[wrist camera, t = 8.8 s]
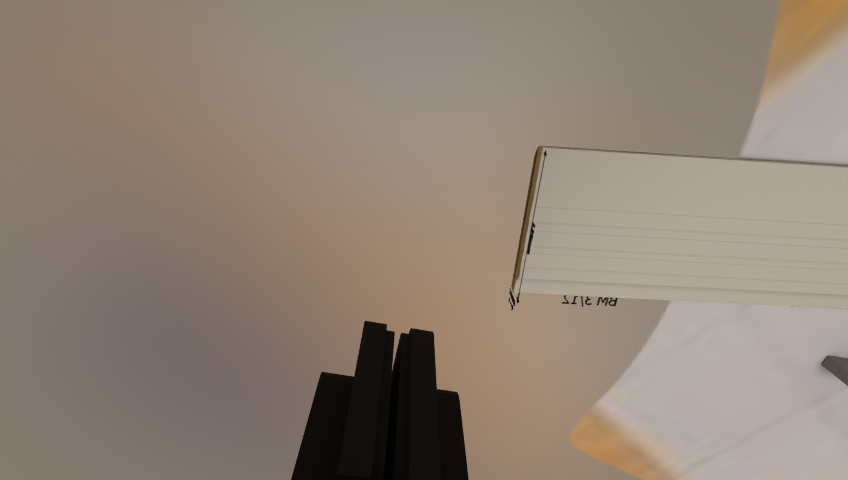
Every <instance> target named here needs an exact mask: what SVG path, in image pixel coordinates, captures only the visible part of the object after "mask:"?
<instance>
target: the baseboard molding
mask: <svg viewBox="0 0 848 480" xmlns="http://www.w3.org/2000/svg"><path fill="white" fill-rule="evenodd" d="M511 287H512V290H513V292H514V293H519V294H520V293H533V294H554V295H564V299H565V300H566V301H567V302H562V304H569V302H568V300H567V299H566V296H567V295H569V296H571V295H574V300H573V303H571V304H577V303H575V300H576V297H578V296H581V303H582V307H583V296H587V297H586V298H587V299H586V300H585V303H586V305H591V304H592V303H587V301H588V300H591V299H589V298H588V297H589V296H592V297H593V296H594V297H599V298H598V302H597V305H599V302H600V299H601V301H602V303H604V301H605V300H606V302H605V306H607V303H608V304H609V305H610V306H616V303H617V299H618V298H635V299H655V300H657V299H658V300H676V301H696V302H717V303H737V304H757V305H778V306H798V307H819V308H839V309H848V166H841V165H825V164H810V163H795V162H780V161H764V160H749V159H734V158H719V157H704V156H702V157H701V156H688V155H673V154H657V153H643V152H627V151H612V150H596V149H581V148H566V147H551V146H539V147H538V148H537V150H536V153H535V156H534V161H533V166H532V172H531V178H530V183H529V189H528V194H527V200H526V206H525V211H524V217H523V223H522V229H521V234H520V240H519V245H518V251H517V257H516V262H515V268H514V273H513V279H512V285H511ZM509 294H510V296H511V298H512V301H513V304H514V305H515V300H514V297H513V295H512V291H511V288H510V292H509ZM602 297H605V298H604V300H603V299H602ZM609 297H610V299H611V300H610V301H609V302H608V299H609ZM612 298H616V299H615V300H612ZM518 299H519V295H518V297H517V303H518V302H519V300H518ZM509 301H510V298H509ZM611 302H614V304H610V303H611ZM510 304H511V302H510ZM511 307H512V310H513V305H511Z"/></svg>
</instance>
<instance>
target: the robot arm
mask: <svg viewBox="0 0 848 480" xmlns="http://www.w3.org/2000/svg"><path fill="white" fill-rule="evenodd" d="M386 328H387V324H381V323H375V322H370V321H365V323H364V328H363V333H362V338H361V343H360V349H359V355H358V360H357V366H356V370H355V376H354V377H352V376H346V375H339V374H332V373H326V372H322V373H321V375H320V378H319V382H318V385H317V389H316V393H315V396H314V400H313V403H312V407H311V410H310V414H309V418H308V421H307V425H306V428H305V432H304V436H303V439H302V443H301V446H300V450H299V453H298V457H297V461H296V464H295V468H294V471H293V475H292V479H291V480H468V471H467V462H466V453H465V444H464V435H463V427H462V418H461V409H460V400H459V395H458V393H457V392H453V391H446V390H440V389H437V387H436V367H435V348H434V333H433V332H431V331H425V330H419V329H412V328H411V329H410V332H409V334H405V333H401V335H400V339H399V344H398V348H397V352H396V357H395V361H394V365H393V370H392V362H393V348H394V335H395V332H393V331H387V330H386Z"/></svg>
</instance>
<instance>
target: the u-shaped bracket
mask: <svg viewBox="0 0 848 480" xmlns="http://www.w3.org/2000/svg"><path fill="white" fill-rule="evenodd" d="M822 365H823V366H824V367H825V368H826V369H828V370H829V371H830V372H831V373H833V374H834V375H835V376H836V377H837V378H839V379H840V380H841V381H842V382H844V383H845V384H846V385H847V386H848V359H845V358H839V357H833V356H827V358H826V359H825V360H824V362H823V363H822Z"/></svg>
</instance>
